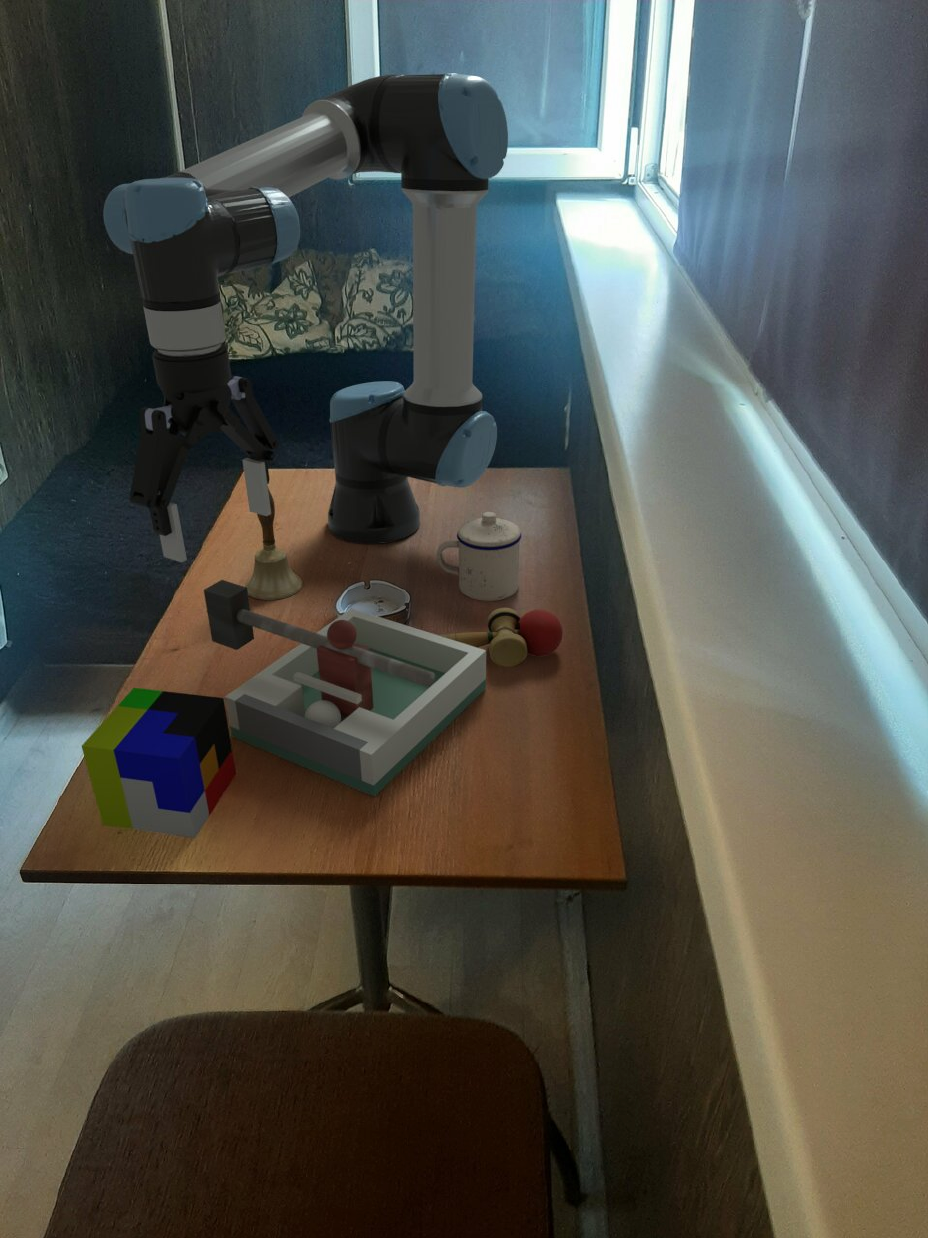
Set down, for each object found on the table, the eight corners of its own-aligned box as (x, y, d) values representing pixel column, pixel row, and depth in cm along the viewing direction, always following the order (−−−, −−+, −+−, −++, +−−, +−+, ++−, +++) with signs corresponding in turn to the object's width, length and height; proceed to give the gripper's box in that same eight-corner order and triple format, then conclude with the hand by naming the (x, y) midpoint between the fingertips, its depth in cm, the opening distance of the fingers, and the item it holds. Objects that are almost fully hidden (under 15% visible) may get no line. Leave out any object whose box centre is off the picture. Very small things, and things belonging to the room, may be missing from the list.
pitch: (354, 644, 124) (350, 595, 120) (485, 688, 115) (486, 637, 111) (231, 736, 107) (222, 683, 104) (374, 796, 98) (370, 740, 94)
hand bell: (306, 573, 142) (296, 473, 134) (297, 600, 135) (286, 496, 127) (251, 573, 142) (237, 473, 134) (239, 600, 135) (224, 496, 127)
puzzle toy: (195, 838, 93) (178, 758, 88) (102, 825, 95) (81, 745, 90) (236, 774, 102) (223, 698, 97) (150, 763, 103) (133, 687, 98)
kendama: (427, 685, 118) (569, 662, 118) (418, 639, 116) (563, 615, 116) (427, 662, 126) (561, 640, 125) (418, 618, 124) (554, 595, 123)
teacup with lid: (520, 573, 141) (521, 501, 135) (520, 603, 133) (522, 528, 128) (439, 572, 142) (438, 500, 136) (435, 602, 134) (433, 526, 128)
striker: (234, 655, 118) (221, 574, 112) (440, 731, 104) (438, 643, 98) (216, 668, 116) (202, 585, 110) (424, 747, 102) (421, 657, 96)
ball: (293, 713, 103) (302, 737, 105) (321, 724, 101) (330, 748, 103) (314, 688, 105) (323, 712, 108) (343, 699, 103) (351, 723, 106)
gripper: (245, 316, 107) (268, 490, 118) (63, 372, 89) (110, 571, 100) (297, 323, 104) (315, 502, 115) (118, 383, 86) (160, 588, 96)
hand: (219, 534), depth 107 cm, fingers open, 13 cm apart
